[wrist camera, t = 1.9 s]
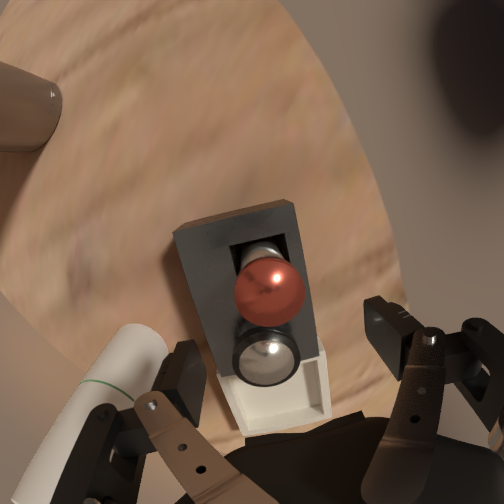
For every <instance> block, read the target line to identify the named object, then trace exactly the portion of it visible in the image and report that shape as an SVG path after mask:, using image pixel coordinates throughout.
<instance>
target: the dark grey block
mask: <svg viewBox="0 0 504 504" xmlns="http://www.w3.org/2000/svg"><path fill="white" fill-rule="evenodd" d="M172 233H173V236H174V240H175V243H176V247H177V250H178V254H179V257H180V260H181V264H182V267H183V270H184V273H185V276H186V280H187V283H188V286H189V289H190V292H191V295H192V298H193V301H194V304H195V307H196V310H197V313H198V316H199V319H200V322H201V325H202V327H203V330H204V333H205V336H206V338H207V341H208V344H209V347H210V349H211V352H212V355H213V357H214V360H215V363H216V365H217V368H218V370H219V373H220V375H221V377H227V376H232V375H237V376H238V378H239V379H241V380H242V381H243V382H245V383H247V384H249V385H252V386H256V387H272V386H276V385H279V384H282V383H284V382H286V381H287V380H289V379H290V378H291V377H292V376H293V375H294V374H295V373H296V372H297V370H298V368H299V366H300V361H303V360H307V359H311V358H314V357H318V356H320V354H319V347H318V340H317V333H316V326H315V319H314V313H313V306H312V300H311V294H310V288H309V282H308V276H307V271H306V265H305V260H304V254H303V249H302V243H301V238H300V233H299V228H298V223H297V218H296V213H295V208H294V204H293V203H292V202H290V201H287V200H285V199H282V200H278V201H273V202H269V203H264V204H260V205H255V206H251V207H247V208H243V209H238V210H234V211H230V212H226V213H222V214H218V215H214V216H210V217H206V218H202V219H198V220H194V221H191V222H187V223H184V224H183V225H181V226H180V227H179V228H177V229H176V230H175V231H173V232H172ZM277 234H279V236H280V241H281V246H282V250H283V255H284V260H286V261H288V262H289V263H291V264H292V265H293V266H294V267H295V268H296V270H297V271H298V273H299V275H300V276H301V278H302V280H303V282H304V286H305V300H304V303H303V305H302V308H301V309H300V311H299V312H298V313H297V315H296V316H295V317H293V318H292V319H291V320H289V321H288V322H286V323H284V324H281V325H278V326H273V327H263V326H258V325H255V324H253V323H251V322H249V321H248V320H246V319H245V318H244V317H243V316H242V315H241V314H240V312H239V311H238V309H237V307H236V304H235V299H234V291H235V282H236V278H237V276H238V274H239V272H240V268H239V264H238V260H237V256H236V252H235V248H234V245H235V244H239V243H243V242H247V241H252V240H256V239H260V238H264V237H269V236H273V235H277Z"/></svg>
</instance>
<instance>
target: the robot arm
mask: <svg viewBox="0 0 504 504" xmlns="http://www.w3.org/2000/svg"><path fill="white" fill-rule="evenodd" d="M61 107H62V97H61V92H60V90H59V88H58V87H57V85H56V84H54V83H52V82H50V81H48V80H46V79H43V78H41V77H38V76H36V75H34V74H32V73H29V72H27V71H24V70H22V69H19V68H17V67H14V66H11V65H9V64H6V63H3V62H1V61H0V152H17V151H19V152H32V151H35V150H37V149H38V148H40V147H41V146H42V145H43V144H44V143H46V141H47V140H48V139H49V138H50V136H51V135H52V133H53V131H54V130H55V127H56V125H57V123H58V120H59V117H60V113H61ZM363 306H364V323H365V333H366V336H367V339H368V340H369V342H370V343H371V345H372V346H373V347H374V349H375V350H376V351H377V353H378V354H379V356H380V357H381V358H382V360H383V361H384V363H385V364H386V365H387V367H388V368H389V370H390V371H391V372H392V374H393V375H394V377H395V378H396V380H397V381H400V380H401V384H400V387H399V391H398V394H397V398H396V401H395V404H394V407H393V410H392V413H391V416H390V418H385V417H367V418H365V417H364V415H363V412H362V410H361V411H358V412H355V413H352V414H349V415H346V416H343V417H339V418H336V419H333V420H331V421H329V422H327V423H325V424H323V425H321V426H319V427H317V428H315V429H313V430H310V431H308V432H305V433H273V434H267V435H261V436H255V437H248V438H245V446H243V447H241V448H238V449H236V450H234V451H232V452H230V453H229V454H227V455H226V456H224V457H223V456H222V455H220V453H219V452H218V451H217V450H216V449H215V448H214V447H213V446H212V445H211V444H210V443H209V442H208V441H207V440H206V439H205V438H204V437H203V436H202V435H201V434H200V433H199V431H198V430H197V429H196V428H198V426H199V420H200V414H201V408H202V402H203V395H204V389H205V384H206V377H207V374H206V368H205V365H204V362H203V360H202V358H201V355H200V353H199V350H198V347H197V345H196V343H195V341H194V340H186V341H180V342H177V345H176V347H175V350H174V352H173V353H169V354H168V355H167V356H166V357H165V358H164V360H163V361H162V364H161V366H160V368H159V371H158V374H157V376H156V378H155V381H154V383H153V386H152V388H151V391H150V392H147V393H144V394H143V395H141V396H140V397H138V398H137V400H136V401H135V403H134V407H132V408H129V409H125V410H121V411H118V410H117V408H116V407H115V406H114V405H113V404H111V403H103V404H100V405H98V406H96V407H95V408H93V409H92V410H91V411H90V413H89V415H88V417H87V419H86V421H85V423H84V425H83V427H82V429H81V431H80V434H79V436H78V438H77V440H76V442H75V444H74V446H73V449H72V451H71V453H70V455H69V458H68V460H67V462H66V464H65V467H64V469H63V471H62V474H61V476H60V479H59V481H58V484H57V486H56V489H55V491H54V494H53V496H52V499H51V501H50V504H136V503H137V498H138V493H139V488H140V483H141V478H142V473H143V468H144V464H145V459H146V454H148V453H152V452H156V451H158V452H159V454H160V456H161V457H162V458H163V460H164V462H165V463H166V465H167V466H168V468H169V469H170V471H171V472H172V473H173V475H174V476H175V477H176V479H177V480H178V482H179V483H180V484H181V485H182V487H183V488H184V490H185V491H186V492H187V493H186V494H185V495H184V496H183V497H181V498H180V499H179V500H178V501H177V502H176V503H175V504H504V334H503V333H501V332H500V331H499V330H498V329H497V328H495V327H494V326H493V325H492V324H490V323H489V322H488V321H486V320H485V319H482V318H470V319H467V320H466V321H464V322H463V324H462V328H461V332H456V333H451V334H445V333H444V331H443V330H441V329H439V328H437V327H424V326H423V325H422V324H421V323H420V322H419V321H417V320H416V319H415V318H414V317H413V316H412V315H410V313H408V312H407V311H406V310H405V309H404V308H403V307H402V306H400V305H398V304H396V303H393V302H389V303H387V302H386V301H385V300H384V299H383V298H382V297H381V296H379V295H378V296H375V297H372V298H368V299H365V300H364V303H363ZM482 363H483V364H484V365H485V366H486V367H487V369H488V370H489V372H490V376H489V375H488V373H486V371H485V370H484V369H483V368H482V367H481V366H482ZM450 383H454V385H455V386H456V387H457V388H458V390H459V391H460V392H461V394H462V395H463V396H464V398H465V399H466V400H467V401H468V403H469V404H470V406H471V407H472V408H473V410H474V411H475V413H476V414H477V415H478V417H479V418H480V420H481V421H482V422H483V424H484V425H485V427H486V428H487V430H488V431H489V432H490V433H489V436H488V445H489V447H490V449H488V448H485V447H481V446H477V445H473V444H469V443H465V442H462V441H458V440H455V439H451V438H448V437H445V436H441V435H438V434H437V431H438V426H439V421H440V415H441V408H442V402H443V394H444V385H445V384H450ZM112 449H113V450H114V453H113V456H112V459H111V462H110V455H111V452H112Z"/></svg>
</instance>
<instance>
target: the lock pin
mask: <svg viewBox="0 0 504 504" xmlns="http://www.w3.org/2000/svg"><path fill="white" fill-rule="evenodd" d="M234 299H235V304H236V307H237V309H238V311H239V312H240V314H241V315H242V316H243V317H244V318H245V319H246V320H248V321H249V322H251V323H253V324H255V325H258V326H263V327H273V326H278V325H281V324H284V323H286V322H288V321H289V320H291V319H292V318H293V317H295V316H296V315H297V313H298V312H299V311H300V309H301V308H302V305H303V303H304V300H305V286H304V282H303V280H302V278H301V276H300V275H299V273H298V271H297V270H296V268H295V267H294V266H293V265H292V264H291V263H289V262H288V261H286V260H284V258H283V256H282V254H281V253H280V251H279V249H278V247H277V245H276V243H275V242H274V240H273V239H272V238H271V237H270V236H269V237H264V238H260V239H256V240H252V241H247V242H243V244H242V247H241V271H240V272H239V274H238V276H237V278H236V282H235V291H234Z"/></svg>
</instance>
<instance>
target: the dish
mask: <svg viewBox="0 0 504 504" xmlns="http://www.w3.org/2000/svg"><path fill="white" fill-rule="evenodd" d="M317 340H318V347H319V354H320V356H318V357H314V358H311V359H307V360H303V361H300V366H299V368H298V370H297V372H296V373H295V374H294V375H293V376H292V377H291V378H290V379H289V380H287V381H286V382H284V383H282V384H279V385H276V386H272V387H256V386H252V385H249V384H247V383H245V382H243V381H242V380H241V379H239V378H238V376H237V375H232V376H227V377H221V375H220V373H219V370H218V368H217V370H216V375H217V378H218V380H219V382H220V385H221V387H222V390H223V392H224V394H225V397H226V399H227V401H228V404H229V406H230V408H231V411H232V413H233V415H234V417H235V420H236V422H237V424H238V426H239V428H240V431H241V433H242V435H243V436H248V435H255V434H261V433H267V432H272V431H277V430H282V429H287V428H292V427H296V426H301V425H305V424H309V423H313V422H317V421H320V420H324V419H328V418H331V417H332V414H331V402H330V391H329V381H328V371H327V362H326V353H325V349H324V347H323V345H322V343H321V340H320V338H319V336H317Z"/></svg>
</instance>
